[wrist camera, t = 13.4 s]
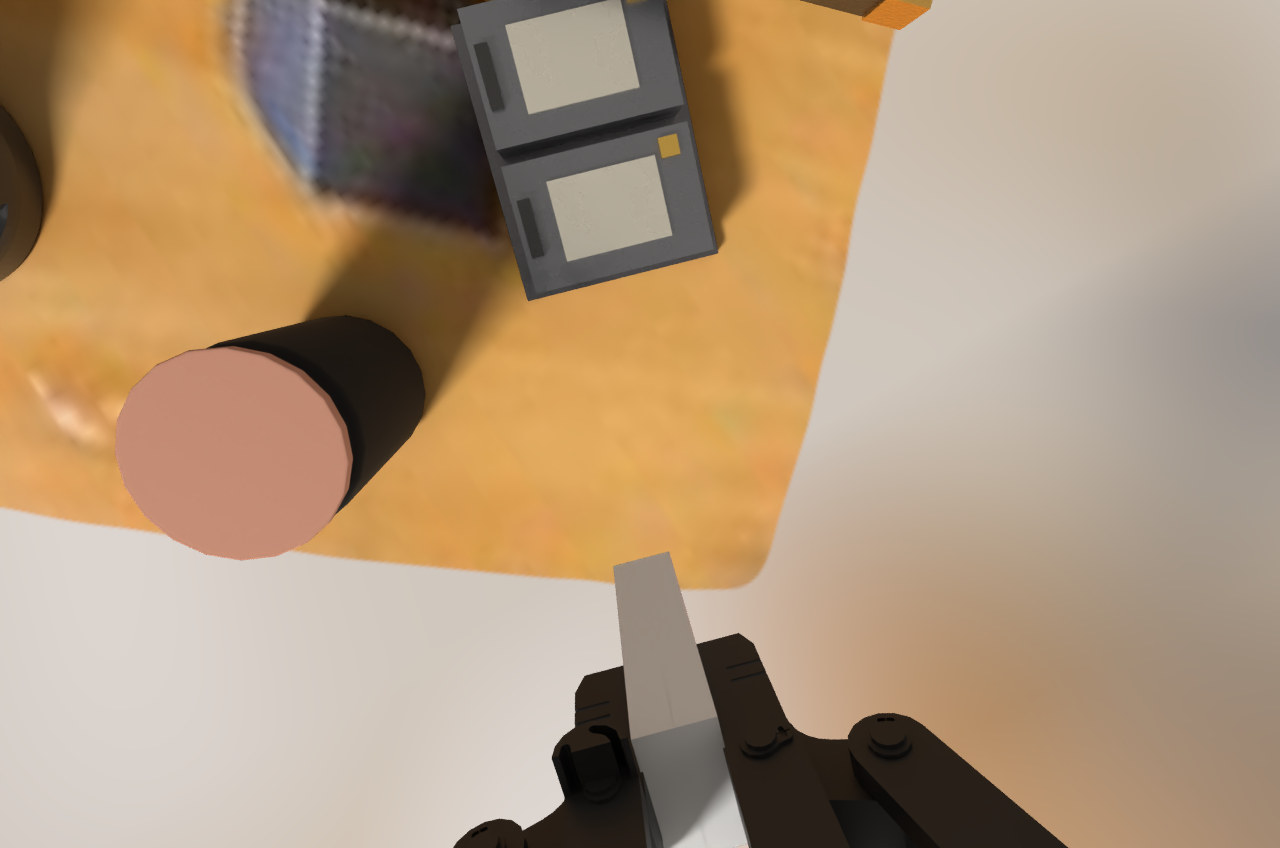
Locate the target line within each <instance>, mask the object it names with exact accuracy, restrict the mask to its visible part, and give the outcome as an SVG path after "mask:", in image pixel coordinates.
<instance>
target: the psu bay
mask: <svg viewBox="0 0 1280 848" xmlns="http://www.w3.org/2000/svg"><path fill="white" fill-rule="evenodd" d="M457 11H458V14H459V18H460V21H461V23H460V24H456V25H452V26H451V29H452V33H453V36H454V40H455V44H456V47H457V51H458V54H459V58H460V61H461V65H462V68H463V72H464V76H465V79H466V83H467V86H468V90H469V93H470V97H471V100H472V104H473V107H474V111H475V115H476V118H477V122H478V125H479V129H480V132H481V136H482V139H483V143H484V147H485V150H486V154H487V157H488V161H489V164H490V168H491V171H492V175H493V179H494V182H495V186H496V189H497V193H498V196H499V200H500V203H501V207H502V211H503V214H504V218H505V221H506V225H507V228H508V232H509V235H510V239H511V243H512V246H513V250H514V253H515V257H516V260H517V264H518V267H519V271H520V275H521V278H522V282H523V285H524V289H525V292H526V296H527V299H528V301H531V300H535V299H539V298H543V297H547V296H550V295H554V294H558V293H562V292H566V291H570V290H574V289H578V288H582V287H586V286H590V285H594V284H598V283H602V282H606V281H610V280H614V279H618V278H622V277H626V276H630V275H634V274H638V273H642V272H646V271H650V270H654V269H658V268H662V267H666V266H670V265H674V264H678V263H682V262H686V261H690V260H694V259H697V258H701V257H705V256H709V255H713V254H717V253H718V249H717V245H716V240H715V235H714V230H713V225H712V220H711V215H710V210H709V206H708V201H707V196H706V191H705V186H704V181H703V176H702V172H701V167H700V162H699V157H698V152H697V147H696V142H695V137H694V133H693V128H692V123H691V118H690V113H689V108H688V103H687V99H686V94H685V89H684V84H683V79H682V74H681V69H680V64H679V60H678V55H677V50H676V45H675V40H674V35H673V30H672V26H671V21H670V16H669V11H668V6H667V1H666V0H493V1H489V2H484V3H480V4H476V5H472V6H468V7H464V8H460V9H457Z"/></svg>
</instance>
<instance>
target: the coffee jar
mask: <svg viewBox="0 0 1280 848" xmlns="http://www.w3.org/2000/svg"><path fill="white" fill-rule="evenodd" d="M424 400H425V389H424V384H423V378H422V372H421V370H420V368H419V366H418V364H417V362H416V360H415V358H414V356H413V354H412V353H411V351H410V350H409V349H408V348H407V346H406V345H405V344H404V343H403V342H402V341H401V340H400V339H399V338H398V337H397V336H396V335H395V334H394V333H392V332H391V331H389V330H387V329H385V328H383V327H382V326H380V325H378V324H376V323H374V322H372V321H370V320H365V319H361V318H356V317H351V316H347V315H345V316H335V317H324V318H319V319H314V320H310V321H306V322H302V323H298V324H294V325H290V326H286V327H282V328H277V329H273V330H269V331H265V332H261V333H257V334H253V335H249V336H245V337H240V338H236V339H232V340H228V341H224V342H220V343H217V344H215V345H212V346H210V347H208V348H206V349H198V350H189V351H187V352H184V353H182V354H180V355H177V356H175V357H173V358H171V359H168V360H166V361H164V362H162V363H159V364H157V365H156V366H155V367H154V368H153V369H152V370H151V371H150V372H148V373H147V374H146V375H145V376H144V377H143V378H142V379H141V380H140V381H139V382H138V383H137V384H136V385H135V386H134V387H133V388H132V389H131V391H130V393H129V395H128V397H127V399H126V402H125V404H124V406H123V408H122V410H121V413H120V415H119V417H118V419H117V430H116V447H115V455H116V458H117V462H118V465H119V469H120V472H121V475H122V479H123V482H124V486H125V488H126V489H127V491H128V492H129V494H130V495H131V497H132V498H133V500H134V501H135V503H136V504H137V506H138V507H139V508H140V510H141V511H142V513H143V514H144V516H145V517H146V518H147V519H149V520H150V521H151V522H152V523H153V524H155V525H156V526H157V527H158V528H159V529H161V530H162V531H163V532H164V533H166V534H167V535H168V536H169V537H170V538H172V539H173V540H175V541H177V542H179V543H182V544H184V545H186V546H188V547H190V548H193V549H195V550H197V551H199V552H201V553H204V554H206V555H213V556H218V557H224V558H231V559H236V560H248V559H257V558H265V557H274V556H278V555H280V554H283V553H285V552H287V551H289V550H292V549H294V548H296V547H299V546H301V545H303V544H306V543H307V542H308V541H310V540H311V539H312V538H313V537H314V536H315V535H316V534H317V533H318V532H320V531H321V530H322V529H323V528H324V527H325V526H326V525H327V524H328V523H329V522H331V520H332V519H333V517H334V516H335V515H336V514H337V513H338V512H339V511H340V510H341V509H342V508H343V507H345V506H346V505H347V504H348V503H349V502H350V501H351V500H352V499H353V498H354V496H355V495H356V494H357V493H358V492H359V491H360V490H361V489H362V488H363V487H364V486H365V485H366V484H367V483H368V482H369V480H370V479H371V478H372V477H373V476H374V475H375V474H376V473H377V472H378V471H379V470H380V469H381V468H382V467H383V466H384V464H385V463H386V462H387V461H388V460H389V459H390V458H391V457H392V456H393V455H394V454H395V453H396V452H397V451H398V450H399V448H400V447H401V446H402V445H403V444H404V443H405V442H406V441H407V440H408V439H409V438H410V437H411V436H412V434H413V432H414V430H415V428H416V426H417V424H418V423H419V421H420V419H421V417H422V412H423V406H424Z"/></svg>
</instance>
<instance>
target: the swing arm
mask: <svg viewBox="0 0 1280 848" xmlns="http://www.w3.org/2000/svg"><path fill="white" fill-rule="evenodd" d="M801 1H805V2H809V3H813V4H816V5H820V6H824V7H828V8H832V9H836V10H839V11H843V12H847V13H851V14H855V15H859V16H863V17H862V20H863V21H867V22H870V23H874V24H878V25H882V26H886V27H890V28H894V29H897V30H901V29H902V28H904V27H905V26H906V25H908V24H909V23H911V22H912V21H914V20H915V19H916V18H918V17H919V16H921V15H922V14H924V13H925V12H926V11H928V10H929V9H930V7H931V4H932V0H801Z"/></svg>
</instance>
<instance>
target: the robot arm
mask: <svg viewBox="0 0 1280 848" xmlns="http://www.w3.org/2000/svg"><path fill="white" fill-rule="evenodd" d="M41 216H42V189H41V182H40V177H39V173H38V169H37V166H36V163H35V159H34V157H33V154H32V152H31V150H30V148H29V145H28V143H27V141H26V140H25V138H24V136H23V134H22V132H21V131H20V129H19V128H18V126H17V125H16V123H15V122H14V121H13V119H12V118H11V116H10V115H9V114H8V113H7V112H6V110H5V109H4V108H3V107H2V106H1V105H0V281H1V280H3V279H4V278H6V277H7V276H9V275H10V274H11V273H12V272H13V271H14V270H15V269H16V268H17V267H18V266H19V265H20V264H21V263H22V262H23V260H24V259H25V258H26V256H27V255H28V253H29V252H30V250H31V248H32V246H33V244H34V242H35V239H36V237H37V234H38V231H39V227H40V222H41ZM613 567H614V577H615V587H616V596H617V606H618V616H619V627H620V636H621V645H622V656H623V666H620V667H616V668H612V669H609V670H605V671H601V672H597V673H594V674H590V675H586V676H584V678H583V680H582V682H581V683H580V685H579V687H578V689H577V691H576V693H575V711H576V713H575V728H574V729H572V730H571V731H570V732H568V733H567V734H565V735H564V736H563V737H562V738H561V740H560V741H559V742H558V743H557V745H556V746H555V748H554V752H553V755H552V761H553V763H554V767H555V769H556V772H557V775H558V779H559V781H560V784H561V787H562V791H563V794H564V797H565V800H564V802H563V803H562V804H561V805H560V806H559V807H558V808H557V809H556V810H555V811H554V812H553V813H551V814H550V815H548V816H547V817H546V818H544V819H543V820H541V821H539V822H537V823H536V824H534V825H532V826H530V827H528V828H527V829H525V830H523V831H522V829H521V826H519V825H518V824H516V823H515V822H514V821H512V820H505V819H496V820H492V821H488V822H484V823H482V824H480V825H479V826H477V827H475V828H473V829H471V830H470V831H468V832H467V834H465V835H464V836H463V837H462V838H461V839H460V840H459V841H458V842H457V843H456V844H455V846H454V848H735V847H739V846H742V845H746V844H748V846H749V848H1068V847H1067V846H1065V845H1064V844H1063V843H1062V842H1061V841H1060V840H1058V839H1057V838H1056V837H1055V836H1054V835H1052V834H1051V833H1050V832H1049V831H1047V830H1046V829H1045V828H1044V827H1043V826H1042V825H1041V824H1039V823H1038V822H1037V821H1036V820H1034V819H1033V818H1032V817H1031V816H1030V815H1028V813H1026V812H1025V811H1024V810H1023V809H1022V808H1020V807H1019V806H1018V805H1017V804H1015V802H1013V801H1012V800H1011V799H1010V798H1008V797H1007V796H1006V795H1005V794H1004V793H1003V792H1001V791H1000V790H999V789H998V788H997V787H996V786H994V785H993V784H992V783H991V782H990V781H989V780H987V779H986V778H985V777H984V776H983V775H981V774H980V773H979V772H978V771H977V770H975V769H974V768H973V767H972V766H971V765H970V764H968V763H967V762H966V761H965V760H964V759H962V758H961V757H960V756H959V755H958V754H957V753H955V752H954V751H953V750H952V749H951V748H949V747H948V746H947V745H946V744H945V743H943V742H942V741H941V740H940V739H939V738H938V737H936V736H935V735H934V734H933V733H932V732H931V731H929V730H928V729H927V728H926V727H925V726H923V725H922V724H920V723H919V722H917V721H915V720H914V719H912V718H910V717H907V716H903V715H899V714H895V713H881V714H880V713H878V714H875V715H872V716H868V717H865V718H863V719H862V720H861V721H859V722H858V723H856V724H855V725H854V726H853V728H852V729H851V731H850V733H849V735H848V739H841V740H829V739H818V738H814V737H810V736H807V735H805V734H803V733H801V732H799V731H797V730H796V729H795V728H794V727H793V725H792V724H790V723H789V721H788V720H787V718H786V716H785V714H784V712H783V709H782V707H781V705H780V702H779V700H778V698H777V696H776V693H775V691H774V689H773V687H772V684H771V682H770V680H769V678H768V675H767V674H766V671H765V668H764V667H763V664H762V662H761V660H760V657H759V655H758V653H757V651H756V648H755V646H754V644H753V643H752V642H750V641H749V640H748V639H746V638H745V637H744V636H742V635H741V634H739V633H737V634H733V635H730V636H726V637H722V638H719V639H715V640H711V641H707V642H703V643H700V644H696V642H695V638H694V635H693V632H692V628H691V625H690V621H689V618H688V615H687V611H686V608H685V605H684V601H683V598H682V594H681V591H680V587H679V584H678V580H677V577H676V574H675V570H674V567H673V563H672V560H671V557H670V553H669V552H665V553H661V554H657V555H654V556H650V557H646V558H642V559H638V560H635V561H631V562H627V563H623V564H619V565H616V566H613Z"/></svg>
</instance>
